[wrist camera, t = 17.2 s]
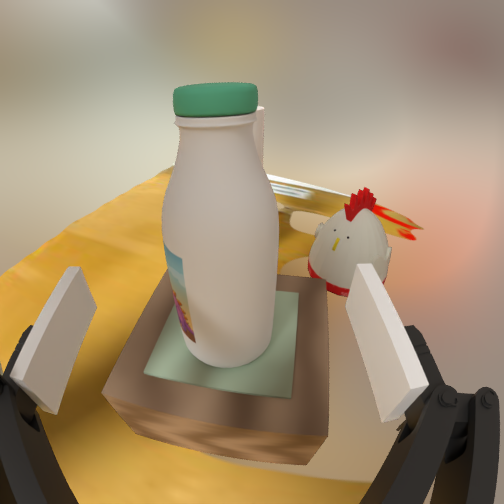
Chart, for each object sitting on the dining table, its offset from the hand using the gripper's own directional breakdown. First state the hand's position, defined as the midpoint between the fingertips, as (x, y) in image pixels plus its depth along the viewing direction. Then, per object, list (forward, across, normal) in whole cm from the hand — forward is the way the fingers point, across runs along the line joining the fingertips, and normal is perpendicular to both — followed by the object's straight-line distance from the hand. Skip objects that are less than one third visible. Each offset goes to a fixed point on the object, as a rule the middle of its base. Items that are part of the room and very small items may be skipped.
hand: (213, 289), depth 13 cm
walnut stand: (+7, 0, -22) cm, 23 cm away
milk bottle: (+7, 0, -12) cm, 14 cm away
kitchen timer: (+28, +19, -22) cm, 40 cm away
